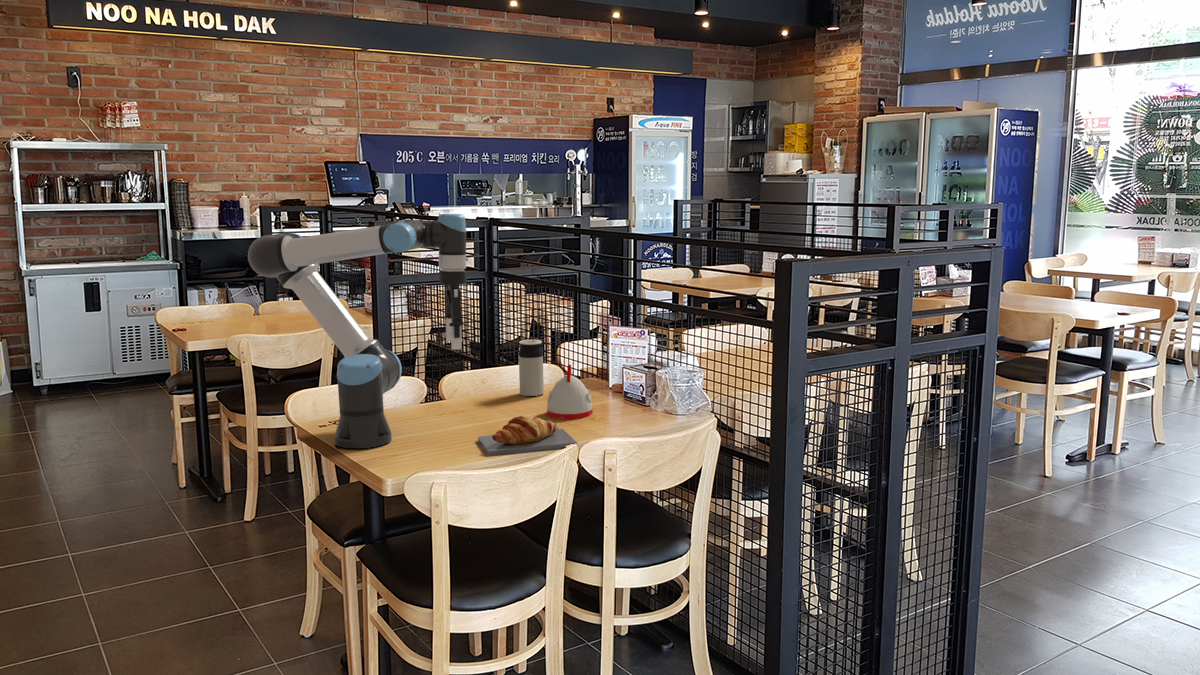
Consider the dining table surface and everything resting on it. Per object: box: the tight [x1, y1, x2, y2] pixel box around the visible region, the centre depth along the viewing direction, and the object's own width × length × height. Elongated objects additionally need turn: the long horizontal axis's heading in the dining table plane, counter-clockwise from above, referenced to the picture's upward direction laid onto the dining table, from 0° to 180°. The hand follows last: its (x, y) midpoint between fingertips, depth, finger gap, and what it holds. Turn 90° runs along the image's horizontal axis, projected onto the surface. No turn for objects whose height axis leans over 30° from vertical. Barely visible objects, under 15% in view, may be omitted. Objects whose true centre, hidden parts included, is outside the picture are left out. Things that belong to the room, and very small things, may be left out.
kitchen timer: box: [546, 364, 594, 420], centre depth 278 cm, size 14×14×15 cm
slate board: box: [477, 428, 578, 457], centre depth 247 cm, size 24×15×2 cm, turn 108°
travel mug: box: [518, 339, 545, 397], centre depth 304 cm, size 8×8×18 cm
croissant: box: [491, 415, 559, 444], centre depth 247 cm, size 21×10×8 cm, turn 131°
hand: (453, 345), depth 257 cm, fingers open, 13 cm apart
